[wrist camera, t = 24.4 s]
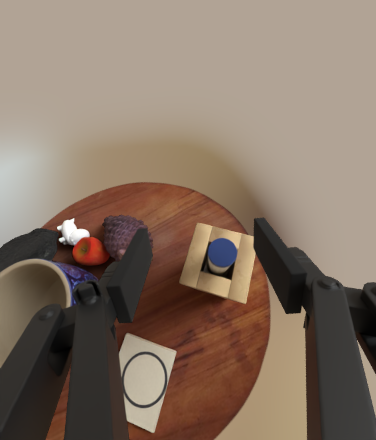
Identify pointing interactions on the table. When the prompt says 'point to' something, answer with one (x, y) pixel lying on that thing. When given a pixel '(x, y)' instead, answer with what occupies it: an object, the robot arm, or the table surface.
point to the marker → (221, 256)
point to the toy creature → (71, 233)
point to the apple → (90, 252)
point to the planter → (33, 294)
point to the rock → (29, 247)
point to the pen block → (232, 278)
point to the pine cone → (121, 234)
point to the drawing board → (144, 379)
